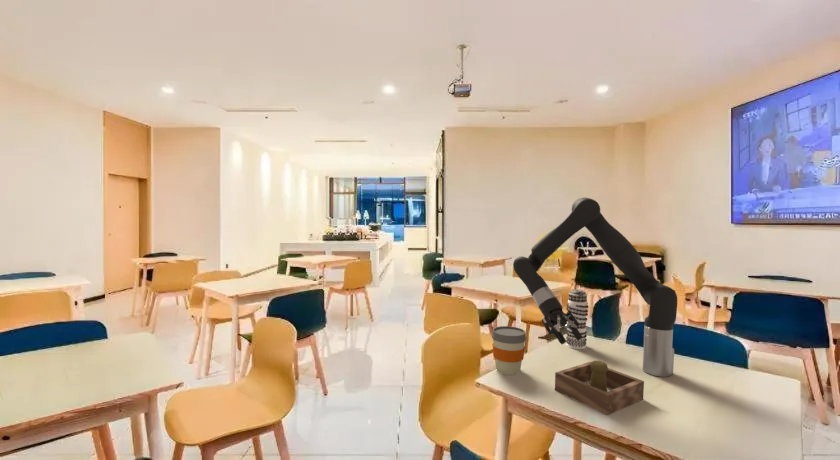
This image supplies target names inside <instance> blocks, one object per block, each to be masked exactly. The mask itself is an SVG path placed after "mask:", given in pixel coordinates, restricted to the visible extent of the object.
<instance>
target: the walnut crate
mask: <svg viewBox="0 0 840 460" xmlns="http://www.w3.org/2000/svg"><path fill="white" fill-rule="evenodd" d="M591 363H592V361H588V362H585V363H581V364H579V365H578V364H577V365H576V366H572V367H569V368H565V369H562V370H559V371H555V373H554V375H555V376H554V377H555V378H554V390H555V391H556V392H559V393H561V394H562V395H565V396H567V397H569V398H570V399H573V400H575V401H577V402H579V403H582V404H583V405H585V406H587V407H589V408H592V409H593V410H596V411H598V412H599V413H602V414H604V415H606V416H608V415H612V414H614V413H615V412H618V411H621V410H623V409H625V408H627V407H629V406H632V405H634V404H636V403H639V402H640V401H641V402H642V401H643V400H644V393H645V392H644V390H645V381H644V380H642V379H639V378H637V377H633V376H631V375H629V374H626V373H623V372H620V371H618V370H616V369H613V368H609V367H608V370H607V372H606V381H607V388H609V389H611V390H609V391H608V390H607V391H608V392H605V391H603V390H600V389H598V388H596V387H593V386H591V385H590V383H588V382H590V380H591V374H592V370H591V367H590V365H591Z"/></svg>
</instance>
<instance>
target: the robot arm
mask: <svg viewBox="0 0 840 460" xmlns="http://www.w3.org/2000/svg"><path fill="white" fill-rule="evenodd" d="M583 228H585V229H587V231H588V232H590V234H591V235H592V236H593V238H594V240H595V241H596V242H597V244H598V245H599V246H600V248H601V249H602V251H603V252H604V254H606V257H608V258H609V259H610V261H611V262H612V263H613V264H614V265H615V267H617V268H618V269H619V271H620V272H621V273H622V274H623V275H624V276H625V277H627V279H629V282H631V283H632V284H633V285H634V287H635V289H636V290H637V291H638V293H639V294H640V296H641V298H642V299H643V301H644V302H645V303H646V304H647V305H649V311H648V312H649V313H648V315H647V317H645V318H644V328H643V332H644V333H643V349H642V350H643V353H642V370H643V372H645V373H647V374H648V375H652V376H655V377H664V378H665V377H666V378H667V377H670V376H671V375H673V374H674V364H675V363H674V361H675V348H674V347H673V335H674V324H675V323H676V321H677V313H678V295H677V292H676V291H675V290H674V288H672V287H670V286H668V285H666V284H663V283H661V282H660V281H659V280H658V279H657V278H656V277H654V275H653V274H652V273H651V272H650V271H649V269H648V268H647V267H646V265H645V263H644V260H643V259H642V256H641V255H640V253H639V252H638V250H637V249H636V248H635V247H634V245H633V244H632V243H631V242H630V240H628V239H627V237H626V236H625V235H623V234H622V233H621V232H620V231H618V229H616V228H615V227H614V226H613V225H612V224H610V222H609V221H607V219H606V218H605V216H604V215H603V214H602V213H601V206H600V203H599V202H597V201H596V200H595V199H593V198H589V197H580V198H578V199H576V200H574V202H573V203H572V206H571V212H570V213H569V215H568V216H567V217H566V218H565V219H564V220H563V221H562V222H561V223H559V224H558V225H557V226H556V227H555V228H553V229H552V230H551V231H549V232H548V233H547V234H544V235H543V237H542V238H541V239H539V241H538V242H536V243H535V244H534V245H533V246H532V247H531V249H530V251H531V253H530V254H529V255H528V257H526V256H518V257H516V258H515V259H514V260H513V264H512V267H513V271H514V272H515V274H516V275H517V276H518V278H519V279H520V280H521V281H522V282H523V284H524V285H525V286H526V288H527V290H528V291H529V293H530V295H531V297H532V298H533V300H534V302H535V304H536V305H537V307H538V309H539V310H540V312H541V314H542V315H543V318H542V319H541V322H542V324H543V326H544V328H545V330H546V331H547V333H548V334H549V335H552V336H553V335H554V336H555V337H556V339H557V341H558V342H559V343H560V344H561V345H564V344H565V343H567V342H566V340H567V339H566V337H564V335H563V333H562V331H560V329H561V328H563V327H564V328H565V329H567V328H568V329H570V330H571V331H572V333H573V335H574V336H575V338H576V339H577V340H580V339H581V338H582V335H581V334H580V332H579V331H578V329H577V327H578V326H579V323H578V322H577V320H576V319H575V318H574V316H573V315H572V313H571V312H568V311H567V312H568V313H567V312H564V311H563V309H564V307H563V305H562V303H561V302H560V301H559V299H558V298H557V296H556V295H555V293H554V292H553V291H552V289H551V288H550V286H549V285H548V284H547V282H546V281H545V279H544V278H543V277H542V276H541V275H540V274H539V273H538V271H539V270H540V268H541V267H542V266H543V264H544V263H545V261H546V260H548V258H550V256H552V255H553V254H554V253H555V252H556V251H557V250H558V249H559V248H560V247H562V246H563V245H564V244H565V243H566V242H567V241H568V240H569V239H570V238H572V236H574V235H575V234H577V233H578V232H579V231H581V230H582V229H583ZM573 321H574V323H575V324H574V323H573ZM570 325H571V326H572V327H571V326H570Z"/></svg>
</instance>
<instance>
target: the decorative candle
mask: <svg viewBox="0 0 840 460" xmlns="http://www.w3.org/2000/svg"><path fill="white" fill-rule="evenodd" d="M567 294H568V300H567V303H566V309H565V310H566V313H568V312H571V313H572V315H573V316H574V318H575V319H576V320H577V322H578V323H579V326H578V327H577V329H578V331H579V332H580V334H581V335H582V338H581V339H580V340H577V339H576V338H575V336H574V335H573V333H572V331H571V330H570V329H568V328H566V330H565V331H566V333H565V334H566V337H565V339H566V342H565V343H566V344H565V346H567V347H568V348H571V349H575V350H584V349H586V348H587V337H588V335H587V334H588V331H587V322H588V318H587V316H589V314H588V312H589V310H588V308H589V307H590V306H589V303H588V300H587V299H588V294H587V293H586V291H585V290H583V289H577V288H575V289H570V291H569V292H568V293H567ZM573 323H574V321H573ZM574 324H575V323H574ZM570 326H571V325H570ZM571 327H572V326H571Z"/></svg>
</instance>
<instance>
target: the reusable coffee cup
mask: <svg viewBox="0 0 840 460" xmlns="http://www.w3.org/2000/svg"><path fill="white" fill-rule="evenodd" d="M526 334H527V333H526V330H524V329H523V328H520V327H516V326H508V325H502V326H495V327H494V328H492V332H491V339H492V341H493V342H492V354H493V357H494V362H495V370H496V369H497V370H496V372H498V373H499V374H503V375H507V376H514V375H515V376H516V375H518V374H520V373H521V369H522V367H521V366H522V362H523V360H524V357H525V351H526V346H525V342H526V341H527V337H526Z"/></svg>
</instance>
